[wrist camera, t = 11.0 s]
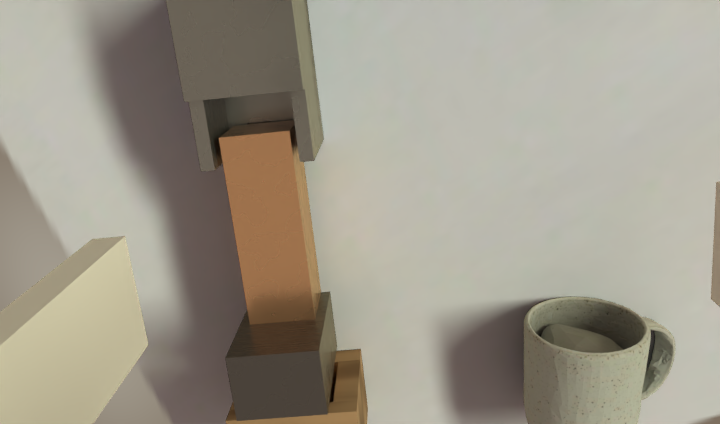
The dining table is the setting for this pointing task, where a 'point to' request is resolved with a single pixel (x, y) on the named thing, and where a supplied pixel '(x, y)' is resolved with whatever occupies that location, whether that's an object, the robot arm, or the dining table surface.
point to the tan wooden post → (276, 279)
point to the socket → (349, 396)
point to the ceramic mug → (590, 362)
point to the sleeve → (246, 69)
